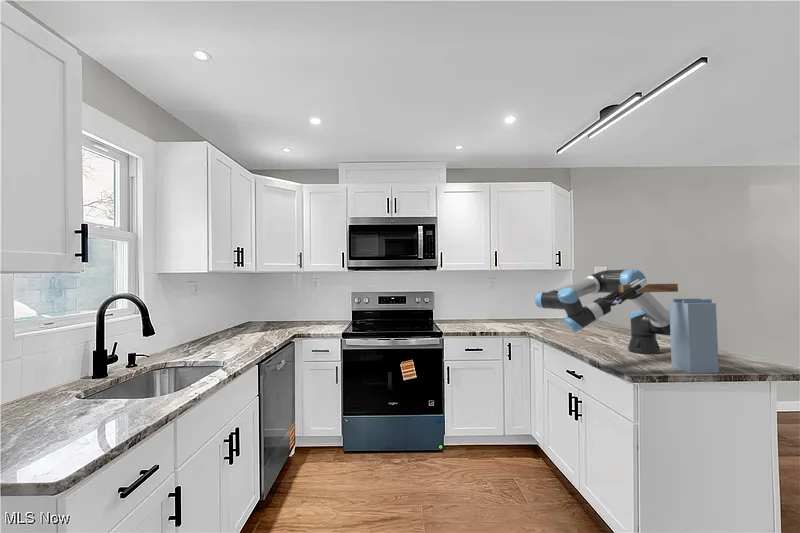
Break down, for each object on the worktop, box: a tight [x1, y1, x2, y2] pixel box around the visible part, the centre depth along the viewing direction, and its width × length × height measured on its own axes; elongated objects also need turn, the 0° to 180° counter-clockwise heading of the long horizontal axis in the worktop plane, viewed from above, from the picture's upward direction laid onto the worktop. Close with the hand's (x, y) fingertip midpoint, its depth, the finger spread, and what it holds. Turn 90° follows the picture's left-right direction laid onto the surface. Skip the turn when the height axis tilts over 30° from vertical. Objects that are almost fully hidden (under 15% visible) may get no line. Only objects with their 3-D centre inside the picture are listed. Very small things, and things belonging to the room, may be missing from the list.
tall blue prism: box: [668, 297, 720, 374], centre depth 174 cm, size 12×12×32 cm
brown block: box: [619, 283, 679, 293], centre depth 175 cm, size 4×24×4 cm, turn 89°
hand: (642, 281), depth 175 cm, fingers closed on brown block, 3 cm apart
